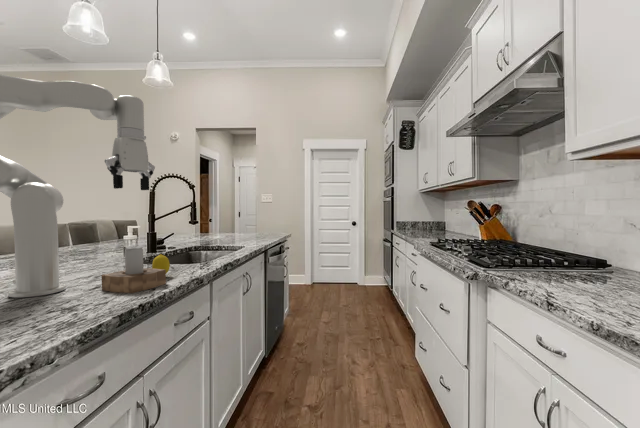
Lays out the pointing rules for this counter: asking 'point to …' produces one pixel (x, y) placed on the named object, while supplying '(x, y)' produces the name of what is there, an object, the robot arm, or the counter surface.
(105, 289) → the socket block
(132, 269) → the beverage can
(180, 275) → the counter surface
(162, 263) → the lemon
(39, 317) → the counter surface
